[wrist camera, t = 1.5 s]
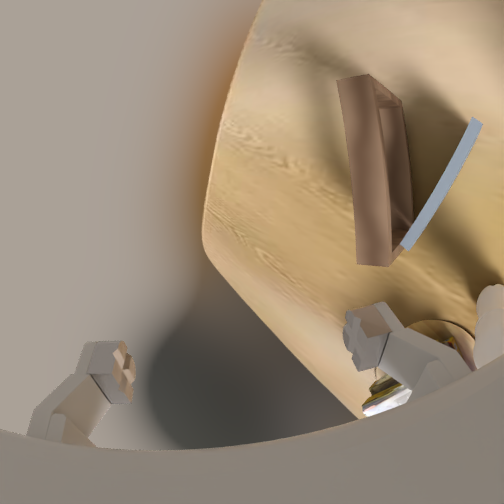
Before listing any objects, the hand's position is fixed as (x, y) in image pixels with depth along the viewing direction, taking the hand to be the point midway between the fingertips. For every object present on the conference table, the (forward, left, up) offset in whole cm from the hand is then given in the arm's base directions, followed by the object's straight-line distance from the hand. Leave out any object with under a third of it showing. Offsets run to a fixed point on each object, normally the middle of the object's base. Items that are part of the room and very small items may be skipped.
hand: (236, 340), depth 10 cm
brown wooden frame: (+5, -5, -46) cm, 47 cm away
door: (-4, -3, -45) cm, 45 cm away
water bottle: (-14, +17, -46) cm, 51 cm away
